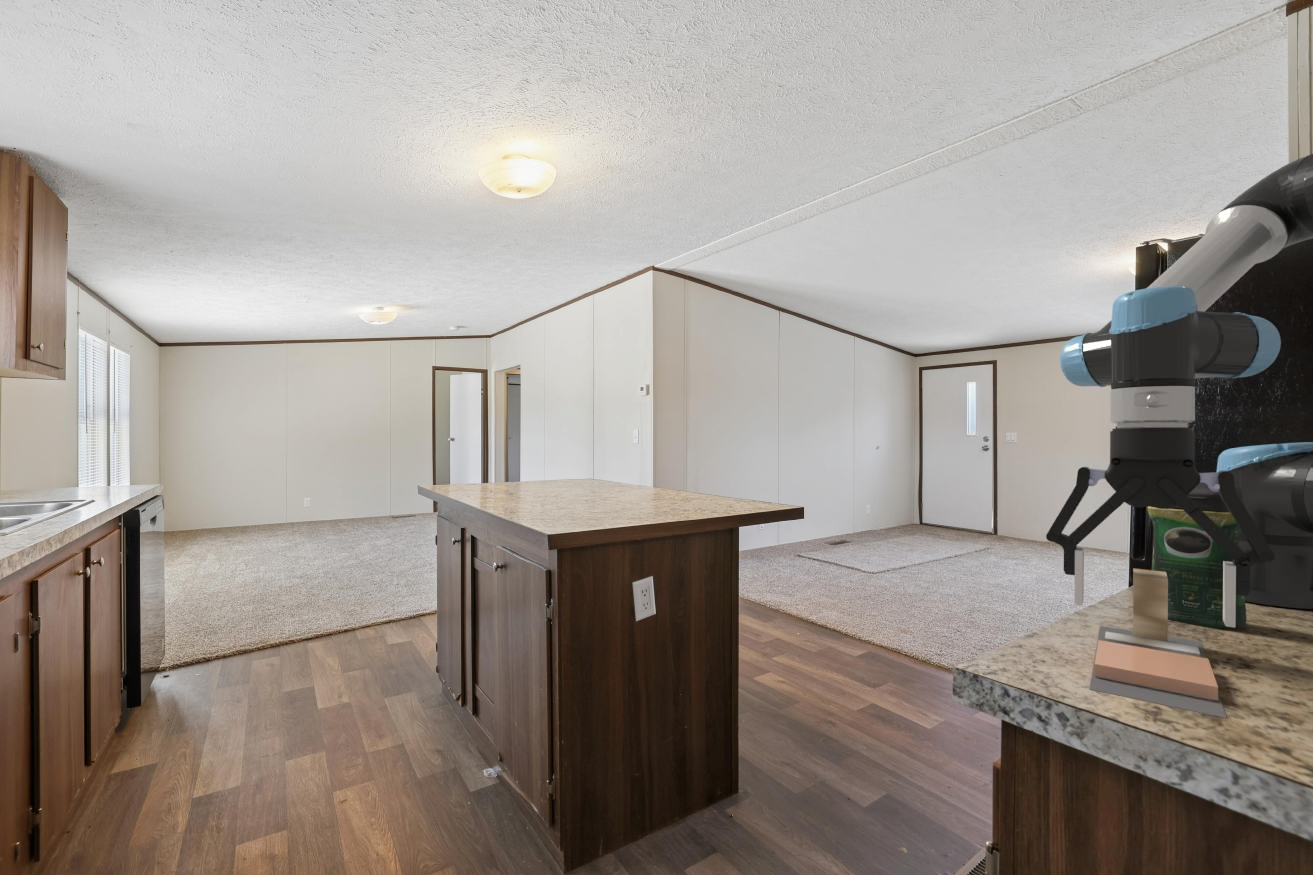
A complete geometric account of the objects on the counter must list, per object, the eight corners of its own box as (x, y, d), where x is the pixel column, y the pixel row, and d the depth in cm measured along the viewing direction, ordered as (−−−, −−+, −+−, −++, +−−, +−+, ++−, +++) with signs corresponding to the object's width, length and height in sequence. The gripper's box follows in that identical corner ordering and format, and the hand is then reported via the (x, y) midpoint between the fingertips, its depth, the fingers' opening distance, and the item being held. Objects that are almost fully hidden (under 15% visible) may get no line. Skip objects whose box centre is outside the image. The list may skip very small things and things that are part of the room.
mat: (1200, 645, 71) (1200, 641, 71) (1226, 723, 52) (1226, 717, 52) (1099, 629, 77) (1099, 625, 77) (1089, 694, 58) (1089, 688, 58)
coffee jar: (1251, 625, 79) (1252, 481, 79) (1238, 637, 74) (1240, 484, 74) (1157, 608, 87) (1158, 477, 87) (1139, 618, 82) (1141, 479, 82)
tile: (1208, 658, 62) (1218, 687, 55) (1208, 671, 62) (1218, 702, 55) (1098, 639, 67) (1094, 663, 60) (1098, 652, 67) (1094, 677, 60)
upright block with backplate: (1193, 644, 70) (1194, 574, 70) (1200, 665, 64) (1200, 588, 64) (1107, 630, 75) (1107, 565, 75) (1104, 648, 69) (1105, 577, 68)
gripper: (1021, 426, 75) (1020, 601, 75) (1315, 424, 59) (1313, 644, 59) (1029, 427, 80) (1028, 589, 81) (1299, 426, 65) (1297, 625, 65)
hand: (1149, 612), depth 70 cm, fingers open, 13 cm apart
